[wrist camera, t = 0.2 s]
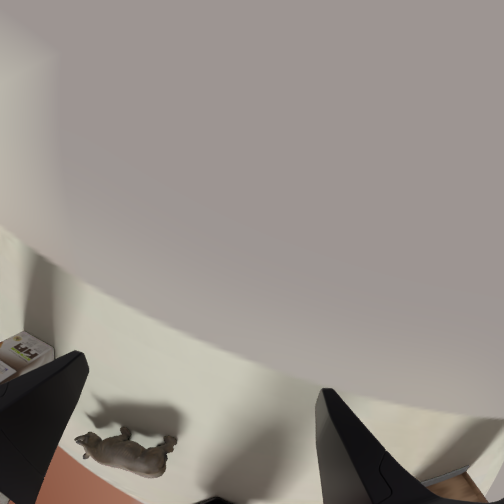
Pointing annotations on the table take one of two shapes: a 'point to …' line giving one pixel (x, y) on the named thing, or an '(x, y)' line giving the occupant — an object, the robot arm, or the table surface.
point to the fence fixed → (458, 489)
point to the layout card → (444, 476)
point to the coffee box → (22, 355)
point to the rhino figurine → (127, 453)
